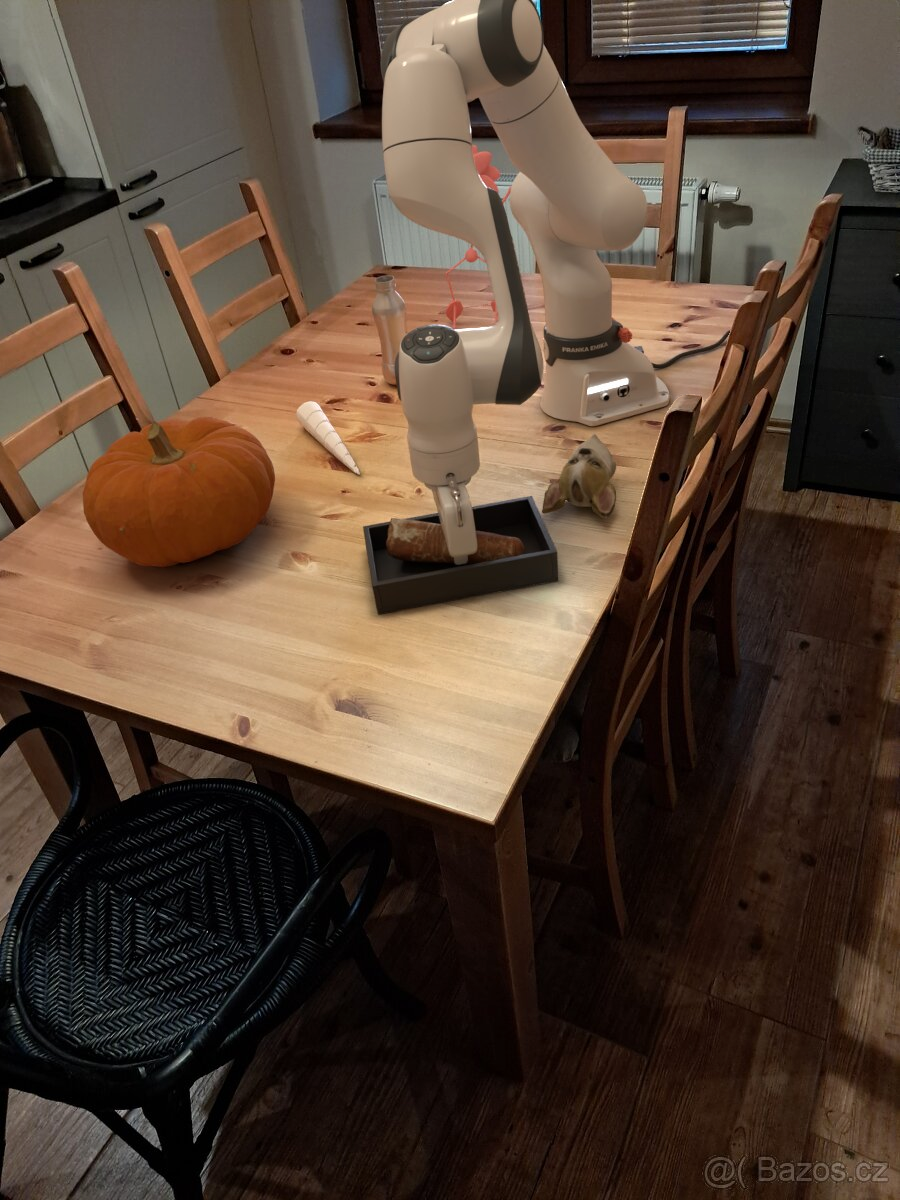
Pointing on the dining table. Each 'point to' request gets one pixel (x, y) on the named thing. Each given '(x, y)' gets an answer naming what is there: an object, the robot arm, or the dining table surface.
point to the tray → (447, 581)
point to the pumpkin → (178, 491)
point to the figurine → (471, 255)
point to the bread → (444, 543)
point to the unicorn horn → (324, 432)
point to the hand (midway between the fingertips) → (456, 545)
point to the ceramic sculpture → (585, 480)
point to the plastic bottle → (389, 323)
